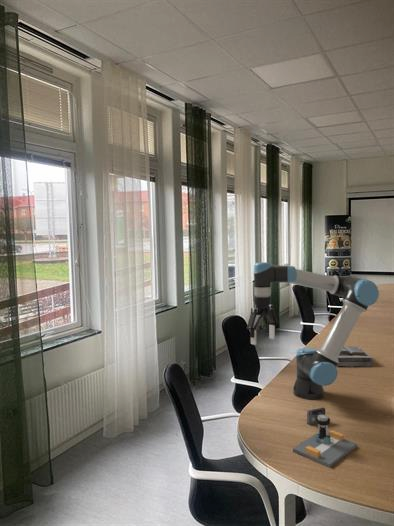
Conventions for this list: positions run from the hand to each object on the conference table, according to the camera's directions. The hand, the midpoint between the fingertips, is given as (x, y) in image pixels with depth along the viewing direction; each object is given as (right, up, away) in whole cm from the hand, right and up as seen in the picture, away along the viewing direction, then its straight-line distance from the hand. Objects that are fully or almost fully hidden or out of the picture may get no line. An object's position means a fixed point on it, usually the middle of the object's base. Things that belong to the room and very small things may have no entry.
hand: (263, 341), depth 188 cm
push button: (+18, -32, -33) cm, 50 cm away
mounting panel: (+18, -34, -36) cm, 52 cm away
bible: (+64, -27, +69) cm, 98 cm away
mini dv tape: (+21, -32, -14) cm, 41 cm away
